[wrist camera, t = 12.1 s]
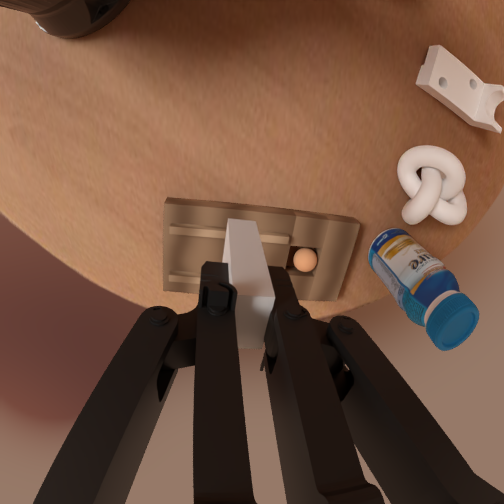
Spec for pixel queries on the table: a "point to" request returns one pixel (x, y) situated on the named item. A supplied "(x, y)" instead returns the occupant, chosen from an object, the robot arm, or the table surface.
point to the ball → (305, 259)
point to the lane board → (272, 238)
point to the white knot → (432, 185)
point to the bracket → (460, 89)
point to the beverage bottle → (423, 288)
